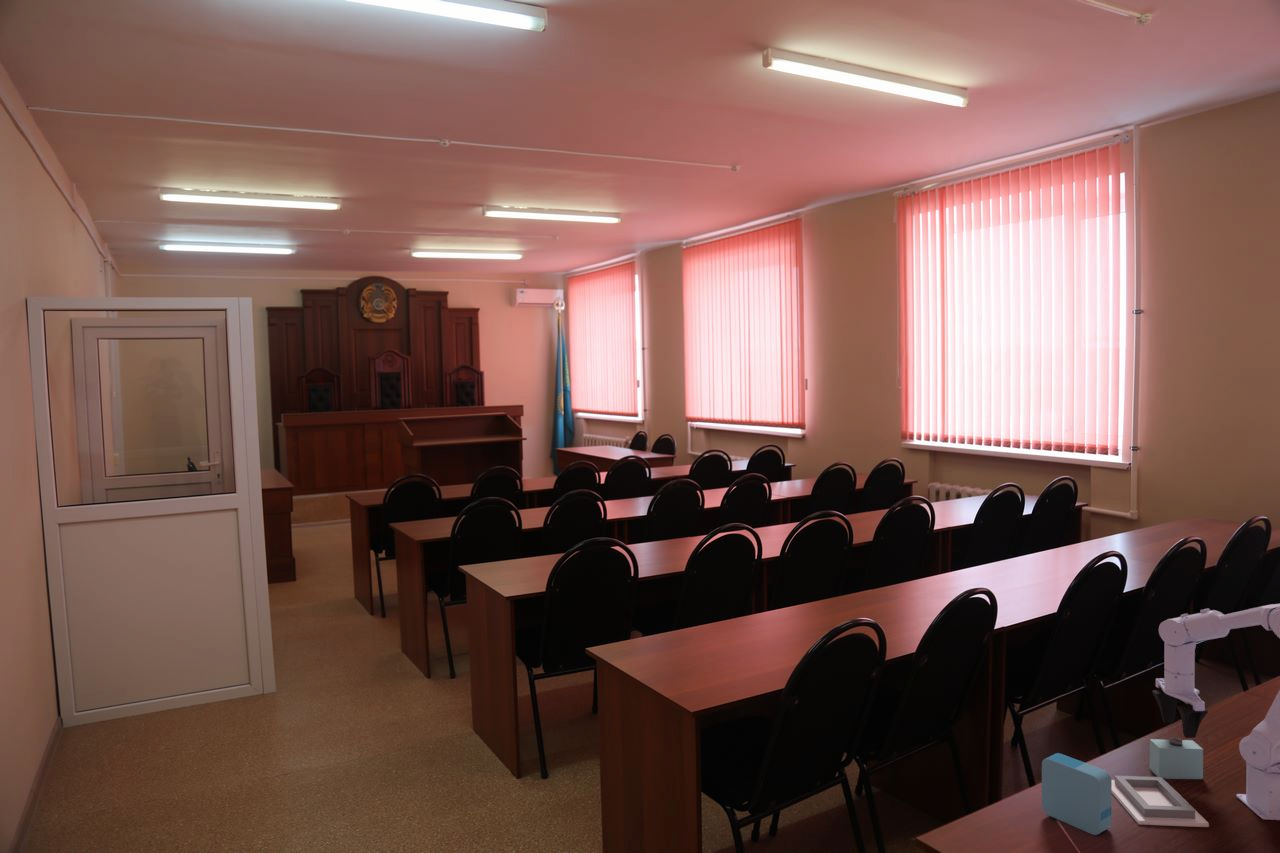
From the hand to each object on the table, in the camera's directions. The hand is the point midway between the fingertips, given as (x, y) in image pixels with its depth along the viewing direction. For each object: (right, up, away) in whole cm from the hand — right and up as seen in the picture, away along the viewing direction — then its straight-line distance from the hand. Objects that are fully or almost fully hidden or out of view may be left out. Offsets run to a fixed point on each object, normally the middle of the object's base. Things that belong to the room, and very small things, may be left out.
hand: (1179, 729), depth 187 cm
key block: (-1, -10, -1) cm, 10 cm away
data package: (-33, -12, -19) cm, 40 cm away
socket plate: (-14, -11, -13) cm, 22 cm away
